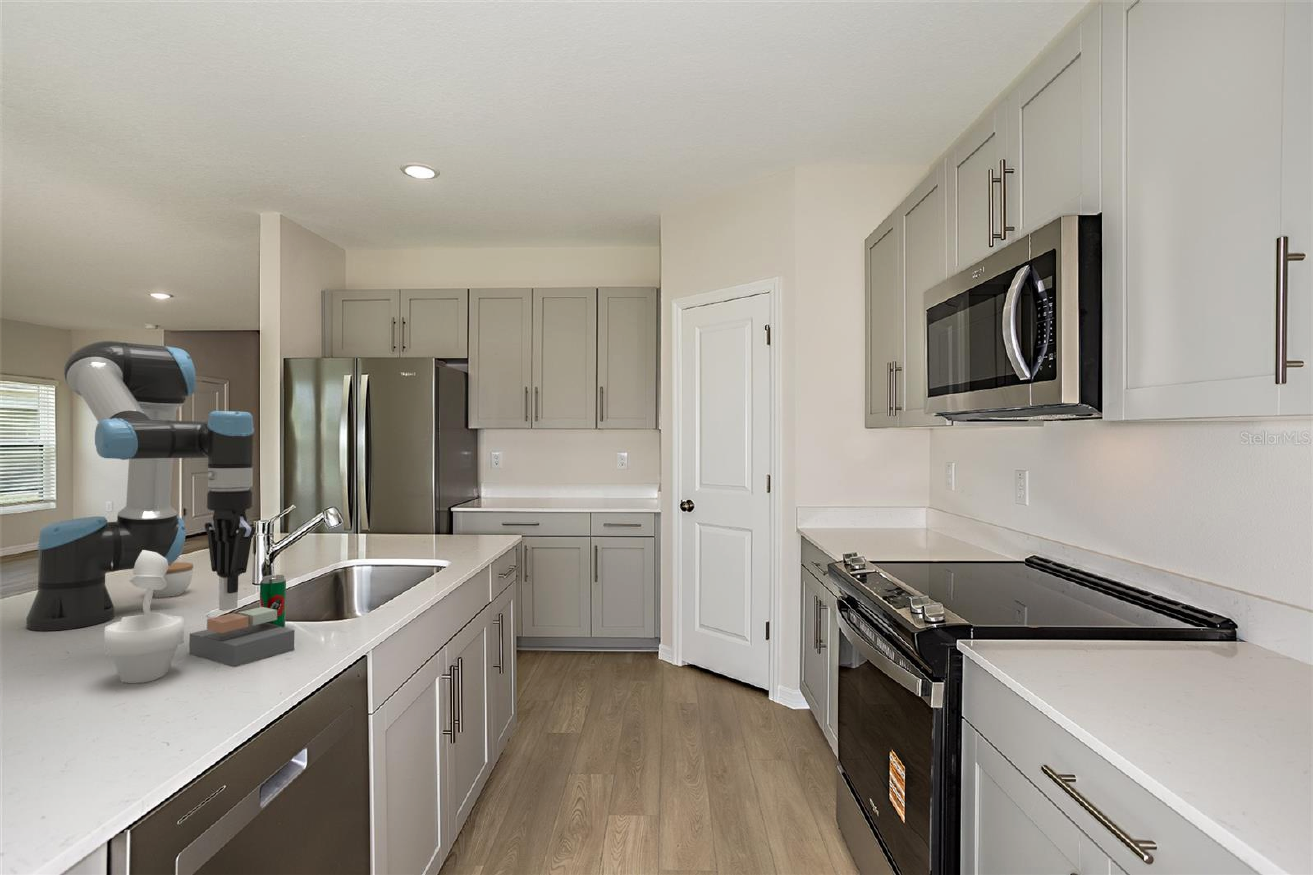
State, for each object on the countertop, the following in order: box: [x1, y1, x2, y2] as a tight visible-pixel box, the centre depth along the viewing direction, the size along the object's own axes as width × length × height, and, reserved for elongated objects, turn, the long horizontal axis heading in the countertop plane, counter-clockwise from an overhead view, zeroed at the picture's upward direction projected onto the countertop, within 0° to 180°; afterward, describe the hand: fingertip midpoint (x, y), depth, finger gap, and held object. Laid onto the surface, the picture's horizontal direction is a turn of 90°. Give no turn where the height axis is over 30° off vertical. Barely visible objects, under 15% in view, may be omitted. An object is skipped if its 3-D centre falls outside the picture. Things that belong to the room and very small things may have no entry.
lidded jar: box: [152, 561, 194, 598], centre depth 181 cm, size 11×11×9 cm
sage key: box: [237, 606, 277, 625], centre depth 138 cm, size 5×5×2 cm
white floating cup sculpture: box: [103, 550, 185, 684], centre depth 120 cm, size 13×12×25 cm
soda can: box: [259, 574, 287, 628], centre depth 150 cm, size 5×5×12 cm
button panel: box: [188, 623, 296, 668], centre depth 136 cm, size 15×12×4 cm
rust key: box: [206, 612, 248, 633], centre depth 133 cm, size 5×5×2 cm
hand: (228, 608), depth 133 cm, fingers closed
